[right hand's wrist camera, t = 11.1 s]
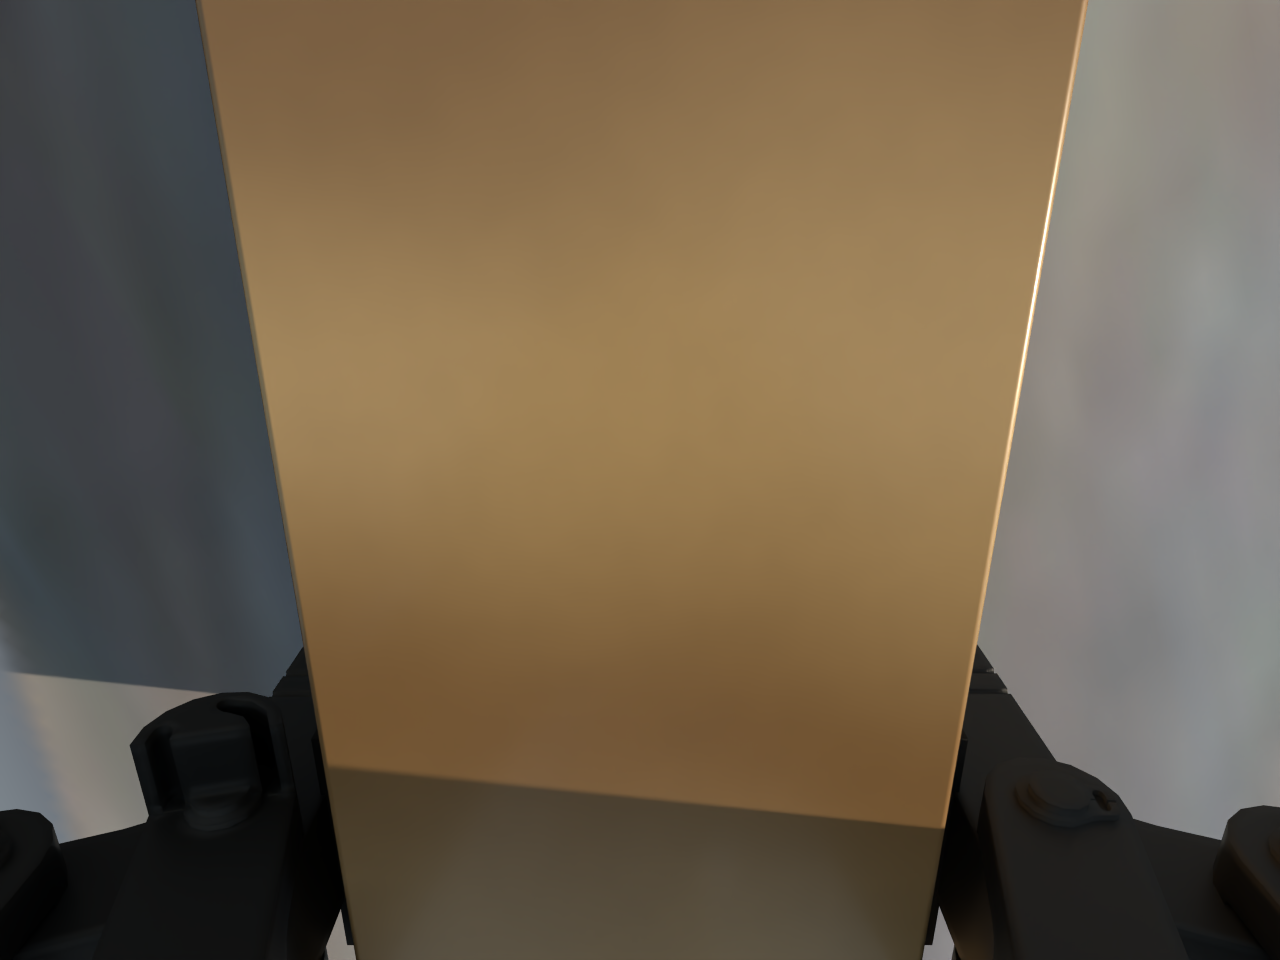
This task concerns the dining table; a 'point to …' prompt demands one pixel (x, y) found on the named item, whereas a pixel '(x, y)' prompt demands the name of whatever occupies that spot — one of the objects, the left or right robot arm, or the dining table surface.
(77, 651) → the dining table surface
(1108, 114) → the dining table surface
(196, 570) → the dining table surface
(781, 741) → the post
